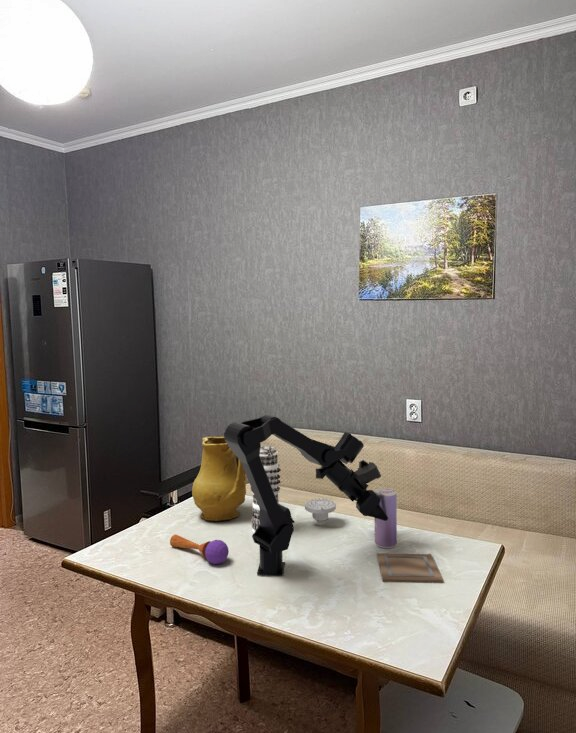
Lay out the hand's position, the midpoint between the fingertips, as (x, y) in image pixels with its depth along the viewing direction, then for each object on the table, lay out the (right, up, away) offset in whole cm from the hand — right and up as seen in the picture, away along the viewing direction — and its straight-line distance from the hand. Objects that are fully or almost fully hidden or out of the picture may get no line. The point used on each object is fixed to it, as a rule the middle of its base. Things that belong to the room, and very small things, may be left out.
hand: (381, 513), depth 146 cm
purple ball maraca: (-50, -11, -4) cm, 51 cm away
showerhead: (-16, -8, +16) cm, 24 cm away
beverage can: (+1, -9, +1) cm, 9 cm away
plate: (+4, -10, -13) cm, 17 cm away
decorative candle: (-32, -9, +12) cm, 35 cm away
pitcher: (-47, -8, +24) cm, 54 cm away
